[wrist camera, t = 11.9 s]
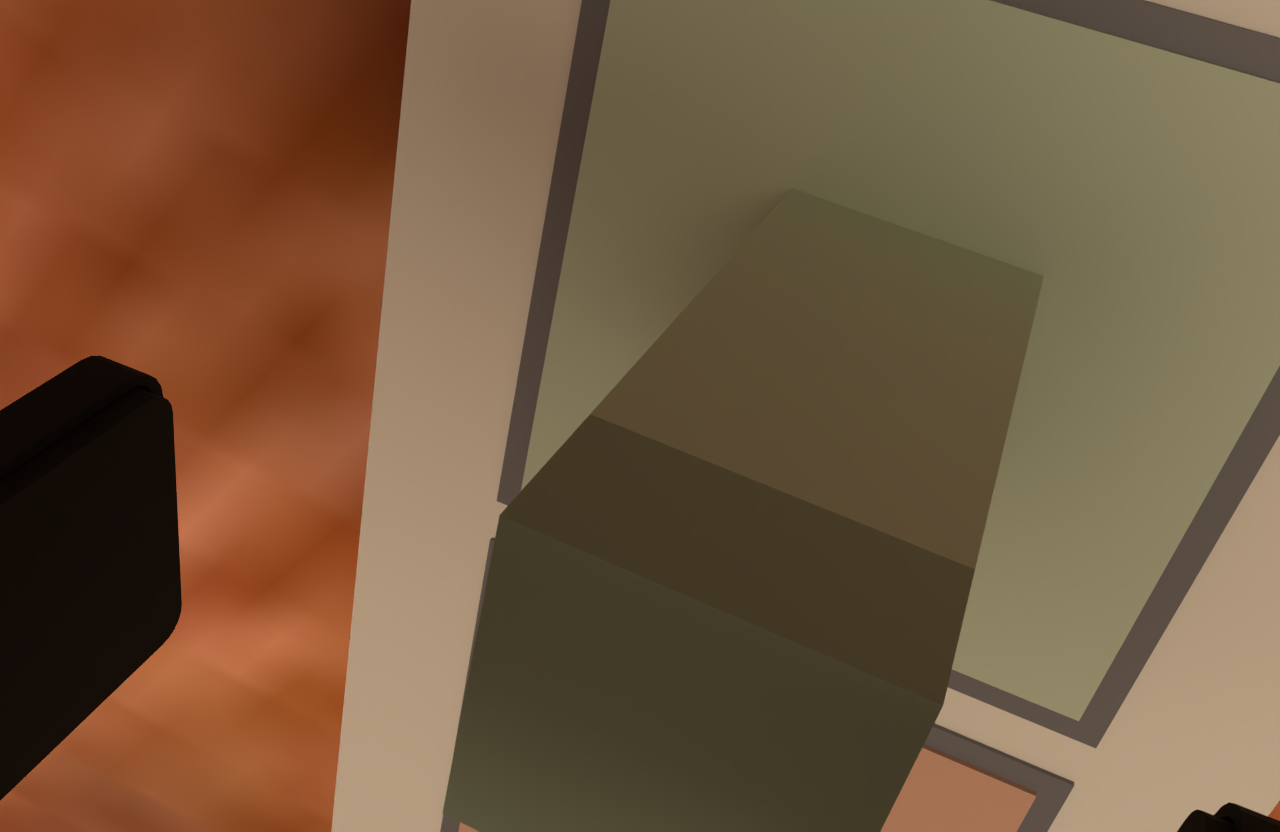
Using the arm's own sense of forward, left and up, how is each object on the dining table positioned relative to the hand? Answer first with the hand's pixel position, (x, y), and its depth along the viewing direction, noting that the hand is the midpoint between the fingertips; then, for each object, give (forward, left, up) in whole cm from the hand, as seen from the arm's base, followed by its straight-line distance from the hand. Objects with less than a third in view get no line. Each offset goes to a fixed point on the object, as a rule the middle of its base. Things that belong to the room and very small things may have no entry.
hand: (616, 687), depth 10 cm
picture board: (+7, +1, -11) cm, 14 cm away
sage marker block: (+1, +1, -10) cm, 10 cm away
